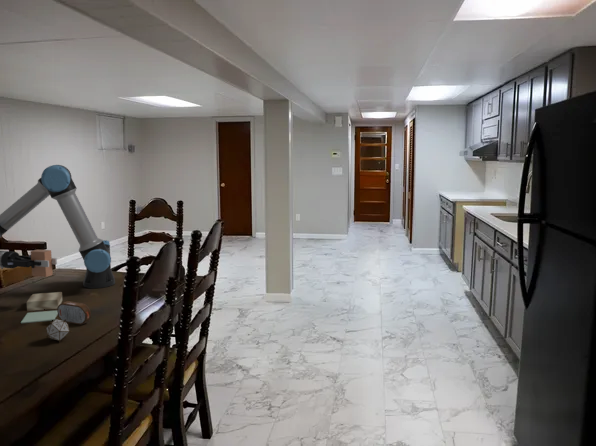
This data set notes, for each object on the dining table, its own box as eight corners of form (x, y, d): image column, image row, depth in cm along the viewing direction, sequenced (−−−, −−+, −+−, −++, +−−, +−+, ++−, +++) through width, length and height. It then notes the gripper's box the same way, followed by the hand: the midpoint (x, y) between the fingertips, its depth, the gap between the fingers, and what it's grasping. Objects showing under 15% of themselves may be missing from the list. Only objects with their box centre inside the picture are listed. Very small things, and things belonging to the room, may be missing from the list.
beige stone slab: (62, 300, 219) (61, 291, 218) (58, 308, 208) (57, 299, 207) (33, 302, 215) (32, 294, 215) (27, 310, 204) (26, 301, 203)
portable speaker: (92, 323, 190) (91, 303, 188) (86, 326, 187) (85, 305, 185) (62, 319, 194) (61, 299, 193) (56, 321, 192) (55, 301, 190)
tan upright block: (32, 275, 207) (30, 251, 206) (39, 273, 211) (37, 249, 210) (46, 276, 206) (44, 252, 204) (52, 274, 210) (51, 250, 208)
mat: (59, 311, 204) (59, 310, 204) (54, 320, 193) (54, 319, 193) (27, 313, 200) (27, 312, 200) (20, 323, 189) (20, 322, 189)
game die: (65, 348, 174) (81, 327, 174) (45, 348, 167) (61, 326, 166) (54, 332, 178) (69, 311, 178) (34, 331, 171) (50, 310, 170)
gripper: (22, 263, 220) (66, 266, 215) (-9, 272, 204) (38, 275, 199) (21, 247, 219) (65, 250, 214) (-10, 255, 203) (37, 258, 198)
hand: (52, 262), depth 207 cm, fingers closed on tan upright block, 4 cm apart
